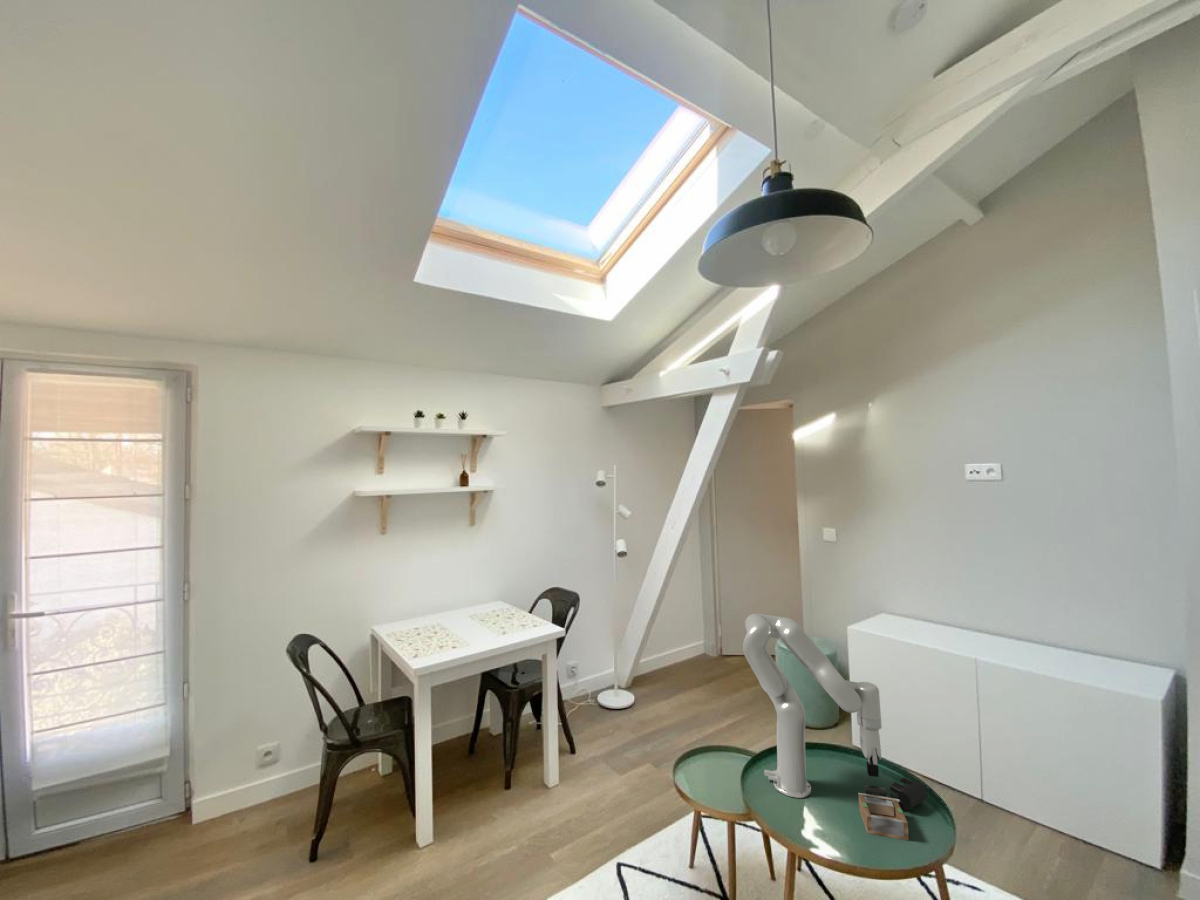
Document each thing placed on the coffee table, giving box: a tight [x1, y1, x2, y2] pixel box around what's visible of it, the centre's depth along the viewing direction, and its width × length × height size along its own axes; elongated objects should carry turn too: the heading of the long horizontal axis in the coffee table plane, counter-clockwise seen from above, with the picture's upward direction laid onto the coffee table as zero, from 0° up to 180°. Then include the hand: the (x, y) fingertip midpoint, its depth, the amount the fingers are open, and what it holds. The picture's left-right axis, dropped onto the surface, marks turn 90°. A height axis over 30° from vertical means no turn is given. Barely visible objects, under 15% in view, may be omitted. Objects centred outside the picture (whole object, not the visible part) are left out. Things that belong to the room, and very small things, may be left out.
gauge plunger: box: [857, 784, 900, 816], centre depth 162 cm, size 12×6×5 cm, turn 73°
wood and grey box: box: [858, 795, 910, 841], centre depth 156 cm, size 11×12×5 cm
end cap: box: [889, 777, 928, 812], centre depth 166 cm, size 10×7×7 cm
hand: (873, 775), depth 171 cm, fingers closed
